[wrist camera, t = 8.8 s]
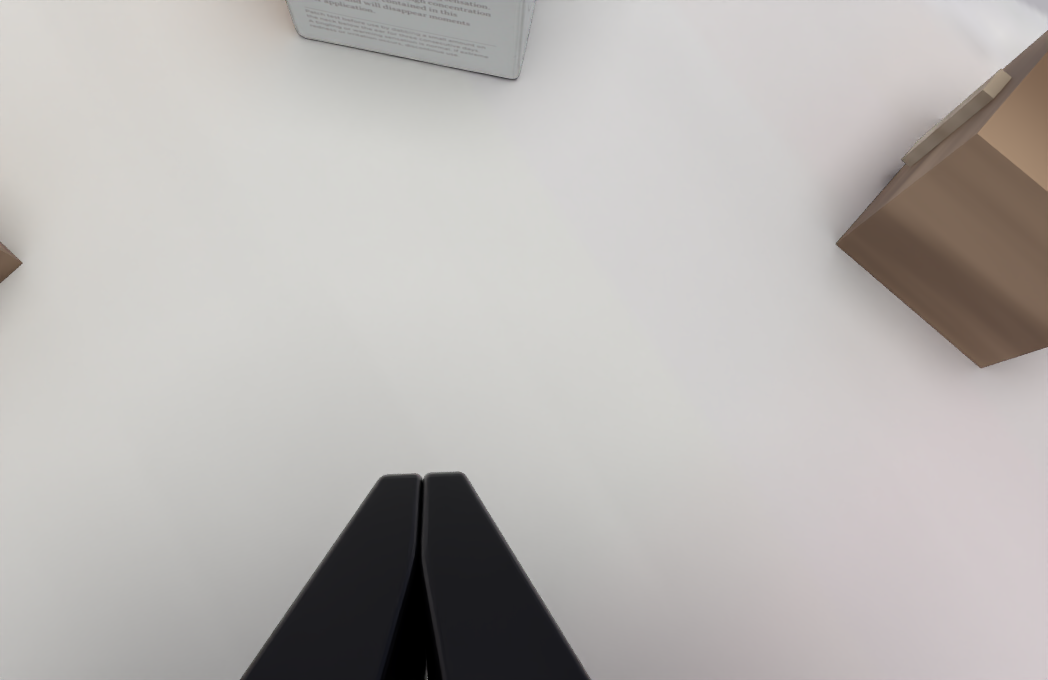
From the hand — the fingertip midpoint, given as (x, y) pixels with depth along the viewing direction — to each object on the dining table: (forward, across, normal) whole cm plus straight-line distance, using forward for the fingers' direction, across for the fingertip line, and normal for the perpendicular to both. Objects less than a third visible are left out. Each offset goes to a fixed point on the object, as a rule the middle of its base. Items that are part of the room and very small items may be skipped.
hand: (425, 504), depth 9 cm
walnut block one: (+14, -14, +5) cm, 21 cm away
